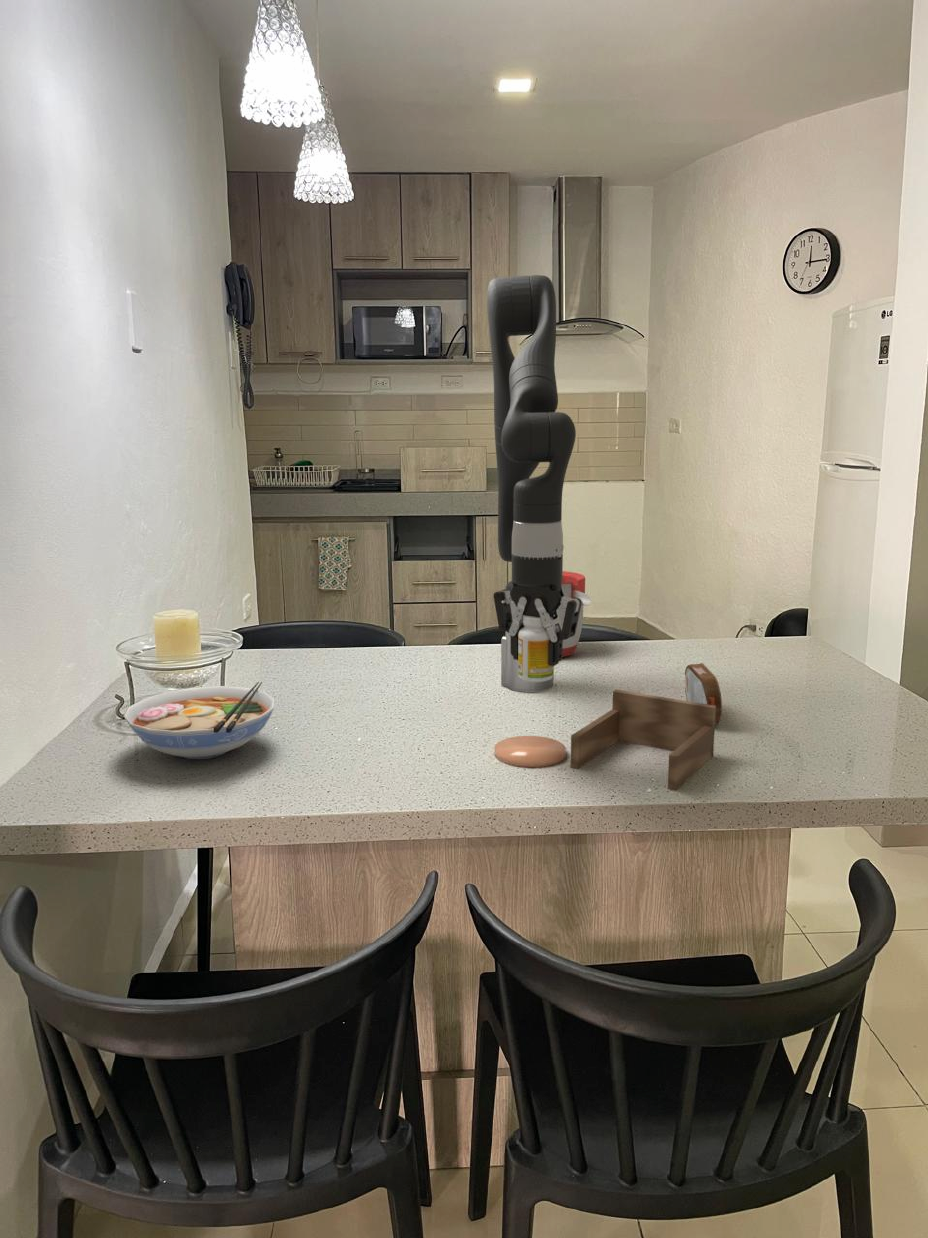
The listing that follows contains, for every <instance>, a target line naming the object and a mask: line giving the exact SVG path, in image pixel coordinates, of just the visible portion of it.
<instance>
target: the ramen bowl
mask: <svg viewBox="0 0 928 1238" xmlns="http://www.w3.org/2000/svg"><path fill="white" fill-rule="evenodd" d="M262 683H263V682H262V681H261V682H259V681H258V682H256V684H255V685H254V686H253V687H252V688H250V687H242V686H225V685H216V686H215V685H213V686H201V687H200V686H198V687H197V686H195V687H190V688H184V689H178V690H170V691H165V692H162V693H159V694H155V695H151V696H148V697H145V698H143V699H141V700H139V701H136V702H135V703H134V704H132V705H129V706H128V707H127V709H126V711H125V713H124V714H123V718H124V719H125V720H126V721H125V722H126V723H127V724H128V725H129V727H130V728H131V729H132V730H133V732H134V733H135V734H136V735H137V737H139V738H140V739H141V741H142V742H144V743H145V744H146V745H147V746H148V747H149V748H152V749H154V750H155V751H158V752H161V753H164V754H167V755H170V756H174V757H182V758H185V759H188V760H207V759H213V758H216V757H219V756H223V755H224V754H226V753H227V752H229V751H232V750H235V749H237V748H240V747H242V746H244V745H245V744H246V743H248V742H250V741H251V740H252V739H253V738H255V737H256V736H257V735H259V733H260V732H262V730H263V728H265V726H266V724H267V723H268V721H269V719H270V718H271V715H272V713H273V711H274V708H275V699H276V698H274V697H273V696H271V695H270V694H268V693H267V692H266V691H263V690H259V688H260V687H261V685H262ZM257 685H258V686H257Z"/></svg>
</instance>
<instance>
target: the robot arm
mask: <svg viewBox="0 0 928 1238" xmlns="http://www.w3.org/2000/svg"><path fill="white" fill-rule="evenodd" d="M486 291H487V292H486V311H487V321H488V332H489V341H490V351H491V354H490V355H491V361H492V362H491V363H492V374H493V417H494V418H493V419H494V420H493V423H494V442H495V443H494V444H495V456H496V469H497V486H498V488H497V490H498V491H497V493H498V496H497V498H498V499H497V547H498V553H499V556H500V558H501V559H502V560H503V561H504V562H510V563H511V580H510V581H509V582H508V583H506V586H505V589H501V590H498V591H496V592H495V591H494V593H493V601H494V606H495V612H496V618H497V623H498V624H497V625H498V628H499V630H500V631H505V635H503V636H502V637H501V640H500V643H501V644H500V647H501V648H500V649H501V650H500V655H501V656H500V657H501V658H500V662H501V663H500V668H501V669H500V671H501V672H500V676H501V677H500V678H501V679H500V680H501V681H500V685H501V686H503V687H506V688H507V689H509V690H512V691H517V692H524V693H526V692H527V693H535V692H536V693H537V692H544V691H548V690H550V689H552V688H553V687H554V678H555V675H554V676H553V678H552V679H550V680H547V681H542V682H532V681H525V680H522V679H521V678H519V675H518V634H519V631H520V630H521V629H522V628H524V627H525V625H523V615H525V616H533V617H541V620H542V623H543V626H544V627H545V628H546V629H547V632H548V635H549V637H550V640H551V641H550V642H549V665H550V666H554V667H555V666H556V665H558V664H559V662H561V661H562V659H563V657H562V647H563V640H566V639H568V638H570V637H572V636H574V635H575V633H576V628H577V623H578V618H579V613H580V609H581V604H582V601H581V599H579V598H576V599H572V598H569V597H566V596H564V593H563V591H562V587H561V586H562V575H563V570H564V569H563V566H564V564H563V562H564V560H563V559H564V558H563V557H564V556H563V555H564V549H565V546H564V533H563V523H562V514H563V513H562V510H563V509H562V508H563V507H562V505H563V503H562V502H563V490H564V483H565V478H566V473H567V470H568V465H569V462H570V459H571V456H572V453H573V451H574V446H575V442H576V437H577V433H576V432H577V431H576V430H577V429H576V426H575V422H574V421H573V419H572V417H571V416H569V415H568V414H566V413H565V412H559V411H557V409H558V405H559V396H558V395H559V394H558V387H557V380H556V372H555V369H556V368H555V367H556V366H555V358H556V357H555V356H556V344H557V301H556V298H557V297H556V290H555V287H554V283H553V282H552V280H551V279H550V278H549V277H548V276H546V275H540V274H532V275H517V276H516V275H515V276H514V275H513V276H512V275H511V276H503V277H502V276H501V277H495V278H493V279H491V280H490V282H489V284H488V286H487V290H486ZM531 335H532V336H531ZM511 336H512V337H516V336H517V337H518V336H520V337H521V336H531V338H530V339H529V340H528V341H527V342H526V343H525V344H524V346H523V347H522V348H521V349H520V351H519V352H518V353H517V354H516V355H515V356H514V353H513V351H512V349H511V348H512V347H511V345H510V342H509V341H510V340H509V337H511ZM540 463H549V465H548V467H547V469H546V470H545V472H544V473H542V474H541V475H538V476H536V477H535V476H534V477H532V475H533V473H534V471H535V470H536V469H537V468H538V466H539V464H540ZM530 477H531V478H530ZM561 604H562V605H563V611H564V612H565V617H564V622H563V627H562V626H561V618H560V615H559V612H558V610H557V609H558V608H559V606H560V605H561Z"/></svg>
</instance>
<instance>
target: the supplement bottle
mask: <svg viewBox="0 0 928 1238" xmlns="http://www.w3.org/2000/svg"><path fill="white" fill-rule="evenodd" d="M523 625H525V627H524V628H522V629H521V630H520V631H519V634H518V675H519V678H521V679H522V680H525V681H532V682H542V681H547V680H550V679H552V678H553V676H554V677H555V675H554V673H555V666H550V665H549V642H550V641H551V640H550V637H549V635H548V632H547V629H546V628H545V627H544V626H543V623H542V620H541V617H533V616H525V615H523ZM553 679H554V678H553Z"/></svg>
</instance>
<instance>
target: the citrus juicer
mask: <svg viewBox="0 0 928 1238" xmlns="http://www.w3.org/2000/svg"><path fill="white" fill-rule="evenodd" d="M561 587H562V591H563V593H564V596H566V597H569V598H572V599H576V598H579V599H581V601H582V604H581V609H580V613H579V618H578V623H577V628H576V633H575V635H574V636H572V637H570V638H568V639H566V640H563V647H562V658H563V657H564V658H565V657H568V656H571V655H573V654H575V651H576V650H577V647H578V645H579V640H580V638H581V633H582V630H583V623H584V622H583V620H584V606H585V607H587V606H590V605H591V603H592V599H591V597H590V595H588V594H586V576H585V575H584V574H581V573H577V572H573V571H565V570H564V571H563V575H562V586H561ZM557 610H558V612H559V615H560V618H561V626H562V627H563V622H564V617H565V612H564V611H563V605H562V604H561V605H560V606H559V608H558V609H557Z"/></svg>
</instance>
